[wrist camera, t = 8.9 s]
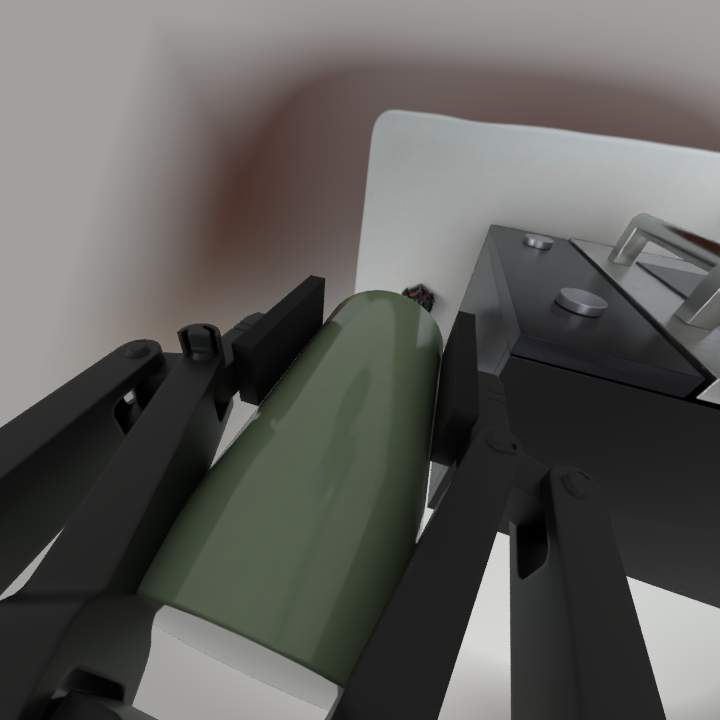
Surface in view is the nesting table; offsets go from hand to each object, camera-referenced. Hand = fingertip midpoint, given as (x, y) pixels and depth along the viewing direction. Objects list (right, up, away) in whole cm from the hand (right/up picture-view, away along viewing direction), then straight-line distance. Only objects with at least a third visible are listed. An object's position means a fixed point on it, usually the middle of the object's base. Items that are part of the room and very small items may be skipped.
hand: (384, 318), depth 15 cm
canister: (0, -1, +3) cm, 3 cm away
